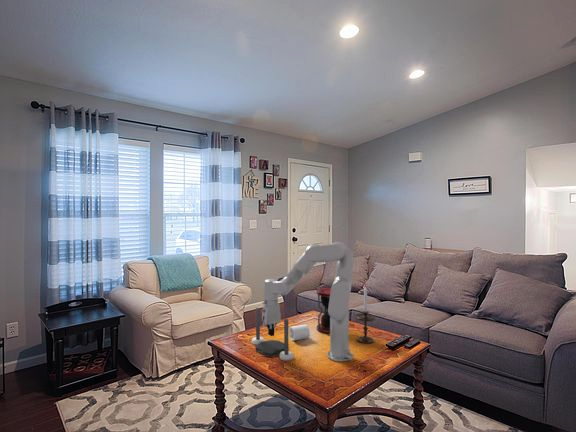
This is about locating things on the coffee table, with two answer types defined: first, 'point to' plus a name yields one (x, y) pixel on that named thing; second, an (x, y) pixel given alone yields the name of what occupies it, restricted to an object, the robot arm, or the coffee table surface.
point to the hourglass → (325, 319)
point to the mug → (299, 332)
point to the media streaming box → (270, 348)
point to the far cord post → (257, 329)
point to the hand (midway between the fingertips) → (271, 335)
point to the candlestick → (365, 321)
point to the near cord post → (286, 344)
